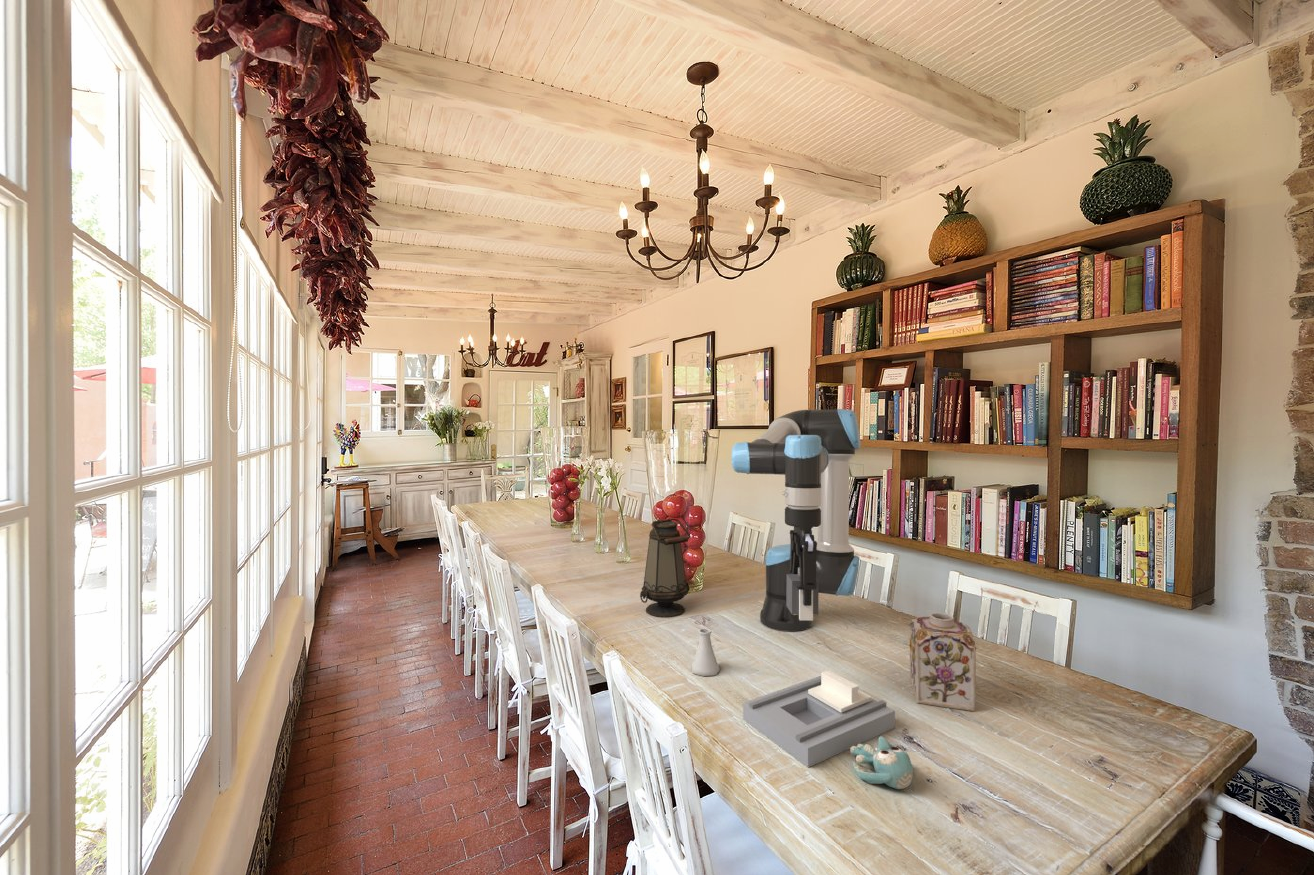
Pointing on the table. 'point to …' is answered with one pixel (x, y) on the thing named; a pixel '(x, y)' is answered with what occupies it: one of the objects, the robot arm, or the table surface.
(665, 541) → the lantern
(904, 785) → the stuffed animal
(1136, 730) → the table surface
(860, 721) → the grey railed block
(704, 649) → the flask
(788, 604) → the plug
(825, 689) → the white finned plate
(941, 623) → the decorative jar
